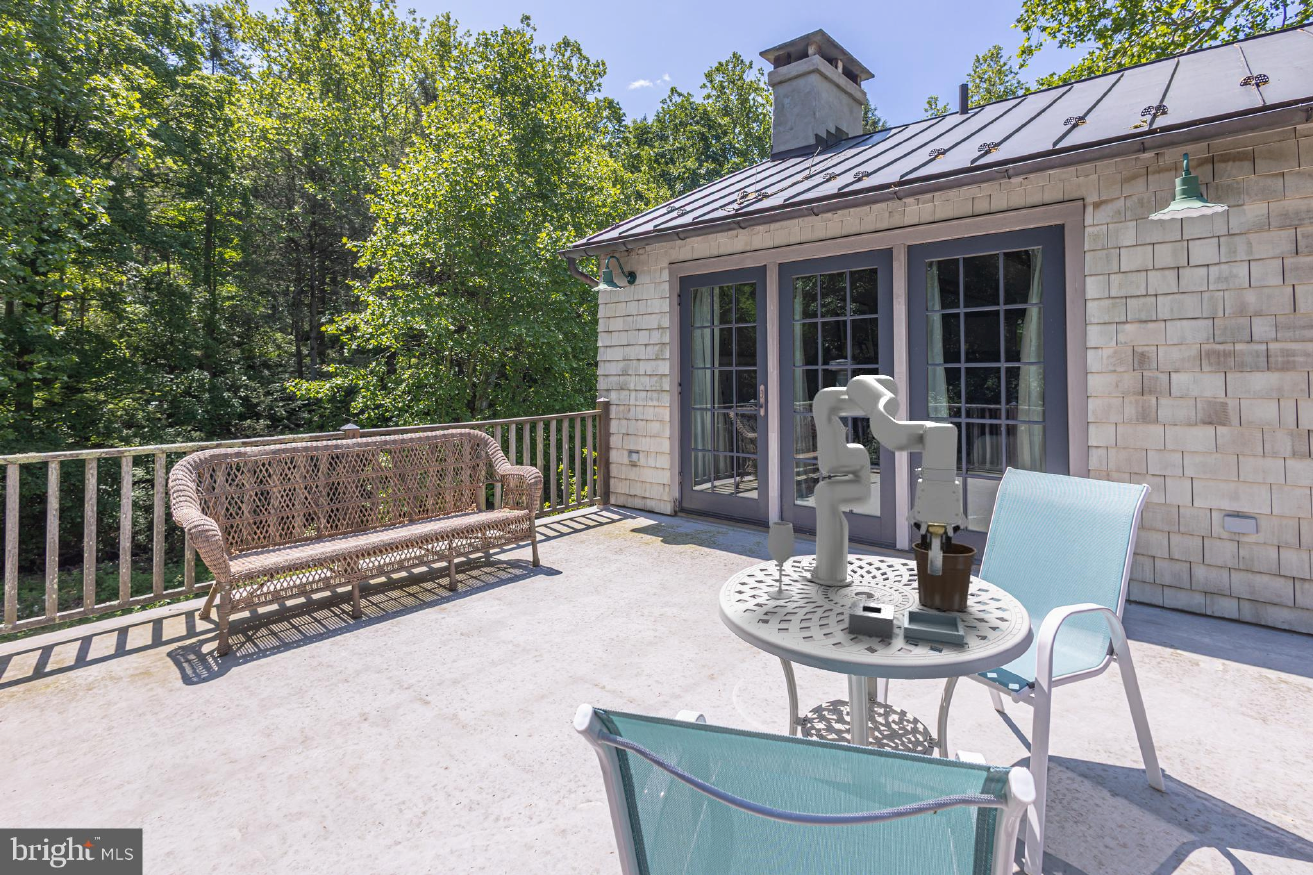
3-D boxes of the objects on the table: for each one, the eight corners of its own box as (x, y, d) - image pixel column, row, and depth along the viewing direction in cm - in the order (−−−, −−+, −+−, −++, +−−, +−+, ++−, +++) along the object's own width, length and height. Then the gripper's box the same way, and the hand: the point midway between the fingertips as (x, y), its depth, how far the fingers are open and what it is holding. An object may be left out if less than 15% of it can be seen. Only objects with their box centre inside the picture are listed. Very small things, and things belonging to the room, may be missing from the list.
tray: (903, 638, 149) (903, 626, 149) (904, 620, 161) (904, 609, 161) (963, 647, 144) (964, 635, 144) (959, 627, 156) (960, 616, 156)
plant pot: (897, 598, 178) (899, 542, 177) (940, 591, 184) (942, 537, 183) (942, 617, 163) (945, 557, 162) (987, 609, 169) (990, 551, 168)
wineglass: (778, 601, 176) (779, 527, 174) (761, 593, 183) (762, 522, 181) (799, 596, 179) (800, 524, 178) (782, 589, 186) (783, 519, 184)
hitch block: (848, 633, 153) (849, 613, 152) (852, 619, 162) (852, 600, 162) (892, 639, 149) (892, 619, 149) (893, 625, 158) (893, 605, 158)
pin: (925, 574, 150) (926, 525, 150) (924, 569, 154) (926, 522, 154) (945, 576, 149) (947, 527, 148) (944, 571, 153) (946, 523, 152)
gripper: (900, 475, 150) (898, 550, 151) (979, 479, 143) (975, 557, 145) (901, 471, 156) (898, 543, 158) (976, 475, 150) (972, 550, 152)
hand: (935, 549), depth 151 cm, fingers closed on pin, 4 cm apart
